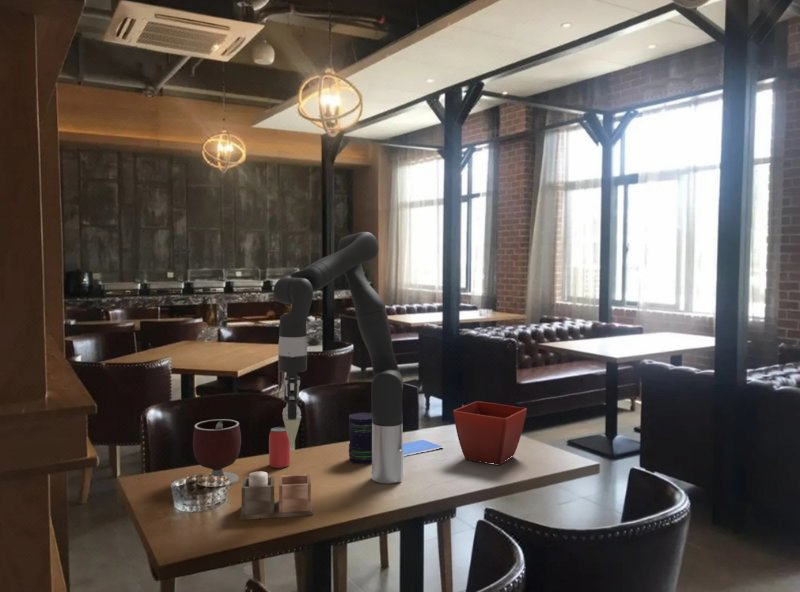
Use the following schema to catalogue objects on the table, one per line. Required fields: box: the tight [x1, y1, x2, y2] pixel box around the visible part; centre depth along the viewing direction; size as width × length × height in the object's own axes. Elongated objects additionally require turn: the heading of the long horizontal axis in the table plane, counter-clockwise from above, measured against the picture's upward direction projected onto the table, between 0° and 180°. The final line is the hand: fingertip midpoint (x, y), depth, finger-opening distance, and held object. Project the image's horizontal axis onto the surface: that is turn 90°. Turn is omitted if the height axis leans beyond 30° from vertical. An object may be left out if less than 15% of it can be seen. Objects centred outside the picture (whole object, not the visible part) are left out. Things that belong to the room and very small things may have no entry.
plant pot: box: [453, 401, 528, 465], centre depth 218 cm, size 19×19×17 cm
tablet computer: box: [402, 439, 444, 457], centre depth 229 cm, size 19×13×1 cm, turn 125°
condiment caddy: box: [239, 470, 314, 521], centre depth 171 cm, size 18×9×10 cm, turn 100°
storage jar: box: [348, 412, 372, 466], centre depth 215 cm, size 10×10×15 cm
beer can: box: [268, 426, 291, 469], centre depth 209 cm, size 7×7×12 cm
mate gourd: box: [192, 418, 242, 486], centre depth 193 cm, size 16×14×20 cm
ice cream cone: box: [281, 396, 302, 449], centre depth 172 cm, size 5×5×15 cm
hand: (292, 416), depth 172 cm, fingers closed on ice cream cone, 5 cm apart
